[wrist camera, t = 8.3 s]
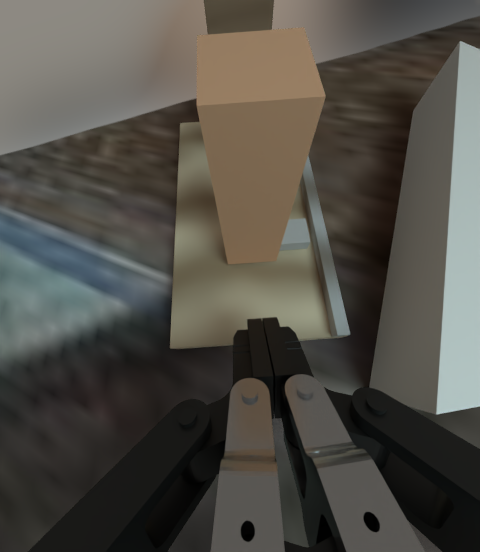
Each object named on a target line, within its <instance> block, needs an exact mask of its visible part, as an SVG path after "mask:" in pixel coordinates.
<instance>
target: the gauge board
mask: <svg viewBox="0 0 480 552" xmlns="http://www.w3.org/2000/svg"><path fill="white" fill-rule="evenodd" d="M304 218H306V222H307V227H308V232H309V237H310V244H309V246H308V248H307V249H295V250H281V251H279V254H278V257H277V260H276V261H271V262H257V263H242V264H228V262H227V257H226V252H225V247H224V242H223V237H222V232H221V226H220V221H219V216H218V211H217V206H216V201H215V196H214V191H213V186H212V181H211V176H210V171H209V166H208V161H207V156H206V150H205V145H204V140H203V135H202V130H201V125H200V122H190V123H180V141H179V163H178V184H177V206H176V227H175V249H174V270H173V292H172V314H171V335H170V348H172V349H186V348H200V347H215V346H229V345H233V337H234V335H235V333H236V332H237V330H246V329H248V327H247V319H256V318H261V319H262V318H269V317H277V318H278V321H279V325H280V327H287V326H289V327H290V328H291V329H292V330H293V331H294V332H295V333H296V335H297V338H298V340H299V341H302V340H316V339H331V338H341V337H346V336H348V335H350V331H349V326H348V322H347V318H346V314H345V309H344V305H343V301H342V297H341V292H340V288H339V284H338V280H337V275H336V271H335V267H334V263H333V258H332V254H331V250H330V246H329V241H328V237H327V233H326V229H325V224H324V220H323V216H322V212H321V207H320V203H319V199H318V195H317V190H316V186H315V182H314V178H313V173H312V169H311V165H310V161H309V156H308V157H307V160H306V164H305V167H304V170H303V174H302V177H301V180H300V184H299V187H298V190H297V194H296V197H295V200H294V204H293V207H292V210H291V214H290V217H289V220H290V219H304Z"/></svg>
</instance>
